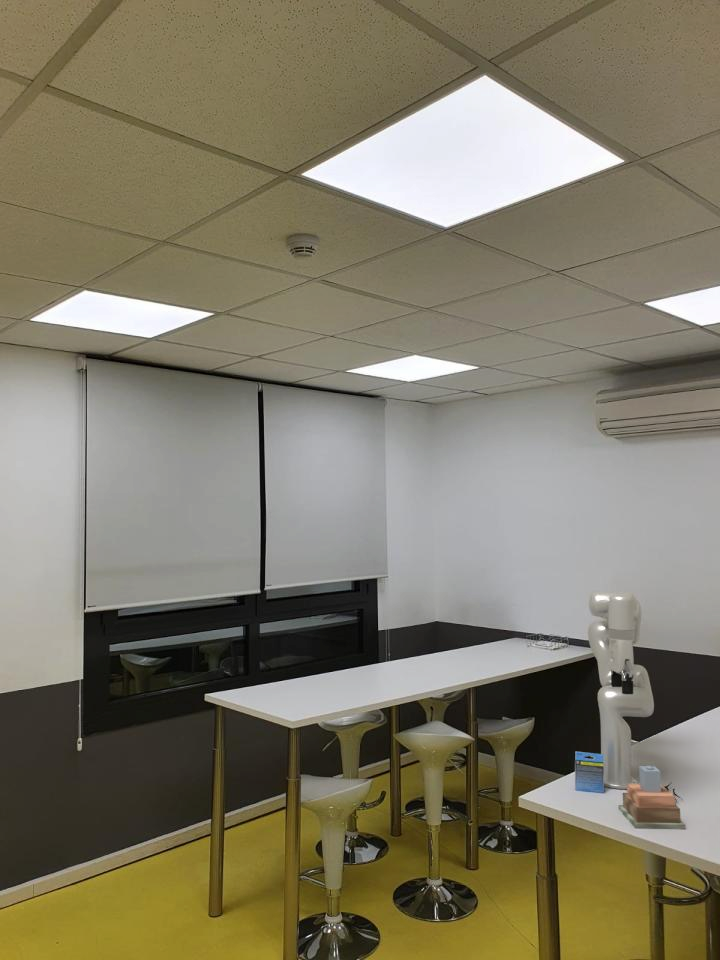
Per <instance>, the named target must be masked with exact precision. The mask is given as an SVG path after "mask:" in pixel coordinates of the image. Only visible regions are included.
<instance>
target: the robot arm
mask: <svg viewBox="0 0 720 960" xmlns="http://www.w3.org/2000/svg"><path fill="white" fill-rule="evenodd" d="M588 607H589V611H590V614H591V615H592V616H594V617H599V618H601V619H603V620H595V621H593V622H591V623H590V624H589V626H588V628H587V637H588V638H587V639H588V644H589V646H590V648H591V651H592V653H593V656H594V657H595V659H596V661H597V667H598V669H597V670H598V675H599V682H600V685H601V686H602V687H600V689H599V690H598V692H597V703H598V709H599V719H600V754H603V762H604V787H607V788H610V789H616V790H627V784H638V782H637V780H636V779H635V778H633V776H632V771H633V770H632V769H633V768H632V767H633V766H632V731H631V728H630V726H629V724H628V722H626V720H625V719H624V718H623V717H635V718H636V717H637V718H647V717H651V716H652V715H653V713H654V710H655V703H654V702H655V701H654V695H653V692H652V686H651V682H650V676H649V674H648V671H647V669H646V668H645V667H644V666H643V665H640V664H634V663H635V662H634V659H635V658H634V647H633V645H636V644H638V642H639V640H640V635H641V634H640V633H641V623H642V606H641V604H640V602H639V600H638V599H637V597H635V595H634V594H633V593H632V592H628V591H607V590H605V591H604V590H603V591H602V590H600V591H593V592H592V593H590V596H589V598H588Z"/></svg>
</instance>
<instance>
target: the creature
mask: <svg viewBox="0 0 720 960" xmlns="http://www.w3.org/2000/svg"><path fill="white" fill-rule="evenodd" d="M672 783H673V782H672V781H671V782H670V783H669V784H668V785H665V786H664V787H665V788H666V789H667V790H668V791H669V792H670V790H671V789H672V787H669V786H670V785H671V784H672ZM675 790H676V788H673V789H672V794H673V795H674V796H675V797H677V798H679V799H681V800H683V799H682V797H681V796H679V795H677V794H676V792H675ZM675 803H678V802H677V799H676V798H675Z"/></svg>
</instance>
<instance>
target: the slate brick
mask: <svg viewBox="0 0 720 960" xmlns="http://www.w3.org/2000/svg"><path fill="white" fill-rule="evenodd" d="M638 771H639V784H640V788H641V789H642V790H643V791H644V792H648V793H661V785H662V783H661V782H662V775H661V774H662V773H661V772H662V771H660V769H658V768H657V767H656V766H654V765H645V766H644V765H639V770H638Z"/></svg>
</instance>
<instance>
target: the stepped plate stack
mask: <svg viewBox="0 0 720 960" xmlns="http://www.w3.org/2000/svg"><path fill="white" fill-rule="evenodd" d="M673 794H674V793H672V792H671V791H670V790H669V791H668V790H667V789H666V788H665V787H664V786H663V784H661V793H648V792H644V791H643V790H642V789H641V788H640V783H637V784H627V789H626V792H622V804H619V805H618V810H619V812H622V813H623V814H622V813H621V814H622V815H623V816H624V817H625V819H627V821H628V820H629V821H628V822H629V823H630V824H631V825H632V827H633V828H635V829H649V830H650V829H652V830H653V829H655V830H656V829H658V830H660V829H661V830H662V829H663V830H686V824H685V823H684V822H683V821H682V820H681V808H680V807H679V806H678V805H677V804H676V800H675V799H676V796H675V795H673Z"/></svg>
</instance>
